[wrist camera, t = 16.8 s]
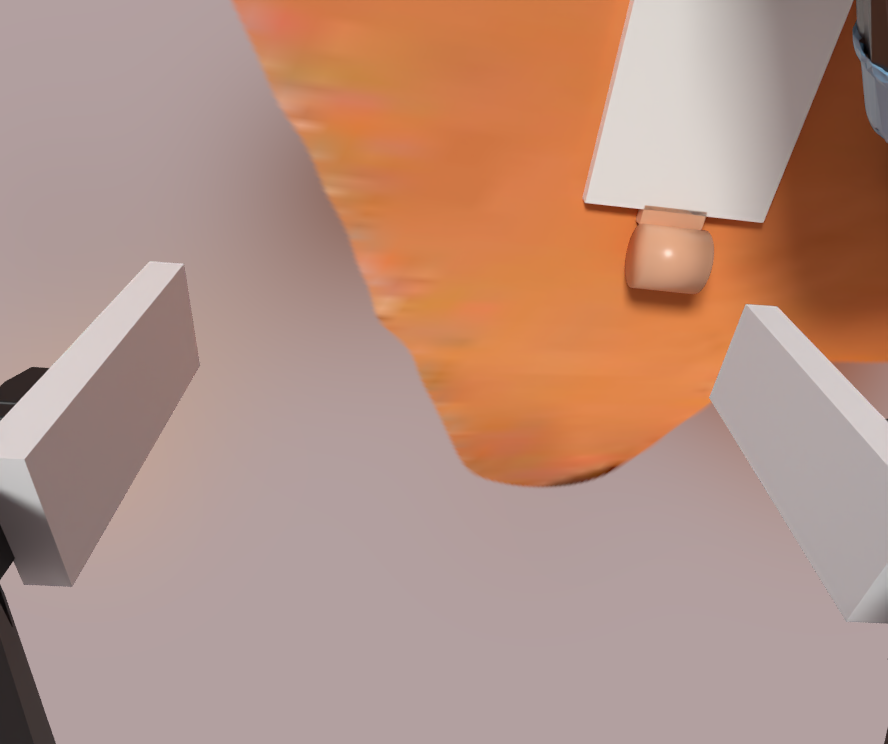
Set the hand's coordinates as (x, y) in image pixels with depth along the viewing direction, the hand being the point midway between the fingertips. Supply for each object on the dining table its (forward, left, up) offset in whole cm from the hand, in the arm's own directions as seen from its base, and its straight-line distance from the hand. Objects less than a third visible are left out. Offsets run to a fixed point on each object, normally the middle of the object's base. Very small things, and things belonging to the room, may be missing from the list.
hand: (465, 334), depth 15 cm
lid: (0, +16, -30) cm, 34 cm away
